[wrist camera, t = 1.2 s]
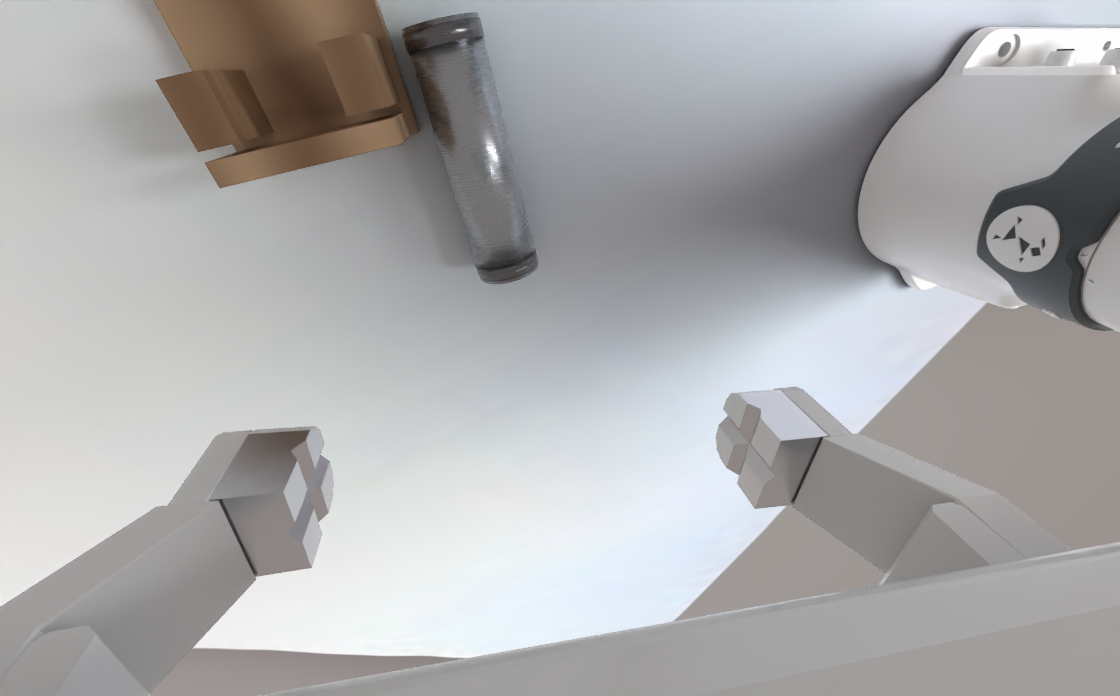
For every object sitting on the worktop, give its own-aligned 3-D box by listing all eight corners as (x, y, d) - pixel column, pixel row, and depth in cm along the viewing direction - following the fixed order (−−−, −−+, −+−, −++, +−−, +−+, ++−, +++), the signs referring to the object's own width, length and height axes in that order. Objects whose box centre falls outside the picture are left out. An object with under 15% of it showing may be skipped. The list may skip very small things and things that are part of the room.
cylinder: (478, 17, 25) (478, 8, 22) (535, 253, 33) (541, 274, 29) (406, 34, 25) (394, 28, 21) (479, 266, 32) (479, 290, 29)
